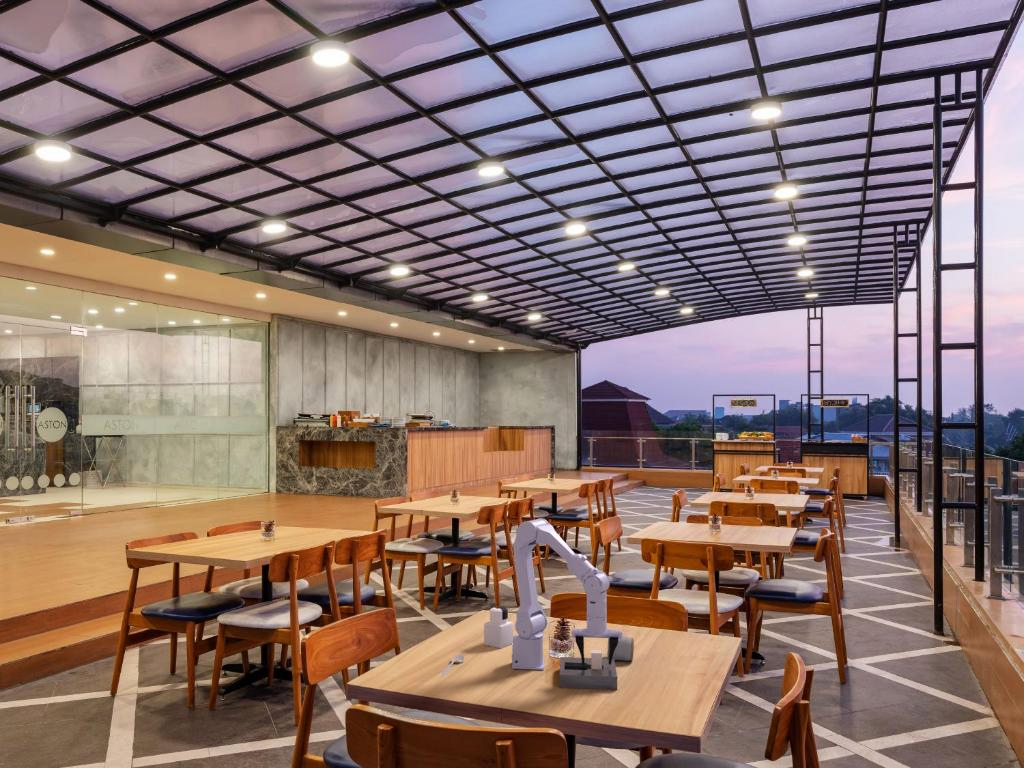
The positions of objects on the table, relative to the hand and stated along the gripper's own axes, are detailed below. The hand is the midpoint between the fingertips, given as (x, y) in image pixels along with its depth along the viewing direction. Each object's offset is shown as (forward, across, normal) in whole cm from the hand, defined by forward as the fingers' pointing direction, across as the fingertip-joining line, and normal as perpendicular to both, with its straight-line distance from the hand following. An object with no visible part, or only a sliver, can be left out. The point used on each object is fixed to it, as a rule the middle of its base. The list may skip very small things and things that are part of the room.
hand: (596, 663), depth 220 cm
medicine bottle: (+5, -32, +31) cm, 44 cm away
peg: (+5, 0, 0) cm, 5 cm away
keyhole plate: (+5, -2, 0) cm, 5 cm away
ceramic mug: (+5, +8, +20) cm, 23 cm away
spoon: (+5, -44, +5) cm, 44 cm away
